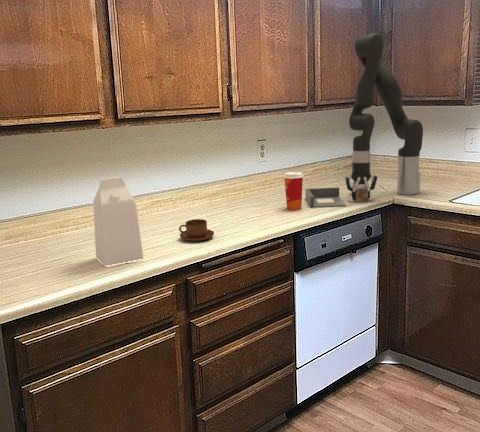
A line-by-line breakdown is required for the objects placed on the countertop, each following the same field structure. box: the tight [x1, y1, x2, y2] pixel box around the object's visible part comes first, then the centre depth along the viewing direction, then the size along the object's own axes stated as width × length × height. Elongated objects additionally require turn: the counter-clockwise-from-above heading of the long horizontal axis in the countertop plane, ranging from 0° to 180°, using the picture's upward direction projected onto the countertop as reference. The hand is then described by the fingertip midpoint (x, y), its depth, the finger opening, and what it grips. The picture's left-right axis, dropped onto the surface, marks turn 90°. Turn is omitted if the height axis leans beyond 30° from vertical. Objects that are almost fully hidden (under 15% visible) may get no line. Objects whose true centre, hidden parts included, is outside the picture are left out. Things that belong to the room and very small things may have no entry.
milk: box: [92, 176, 144, 266], centre depth 168 cm, size 12×12×26 cm
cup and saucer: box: [178, 218, 215, 242], centre depth 190 cm, size 12×12×6 cm
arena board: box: [304, 187, 347, 209], centre depth 236 cm, size 15×18×5 cm
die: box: [350, 178, 366, 194], centre depth 249 cm, size 8×9×10 cm
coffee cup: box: [283, 171, 304, 211], centre depth 226 cm, size 8×8×15 cm
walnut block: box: [353, 188, 369, 203], centre depth 236 cm, size 5×5×5 cm
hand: (360, 199), depth 236 cm, fingers closed on walnut block, 5 cm apart
